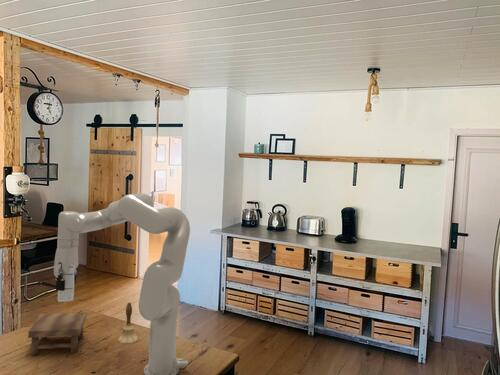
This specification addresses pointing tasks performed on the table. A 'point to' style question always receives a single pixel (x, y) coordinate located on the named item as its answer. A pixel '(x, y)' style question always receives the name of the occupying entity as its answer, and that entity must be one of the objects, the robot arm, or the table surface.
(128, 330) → the hand bell
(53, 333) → the tan broad flat fixture
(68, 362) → the table surface
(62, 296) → the syrup box
